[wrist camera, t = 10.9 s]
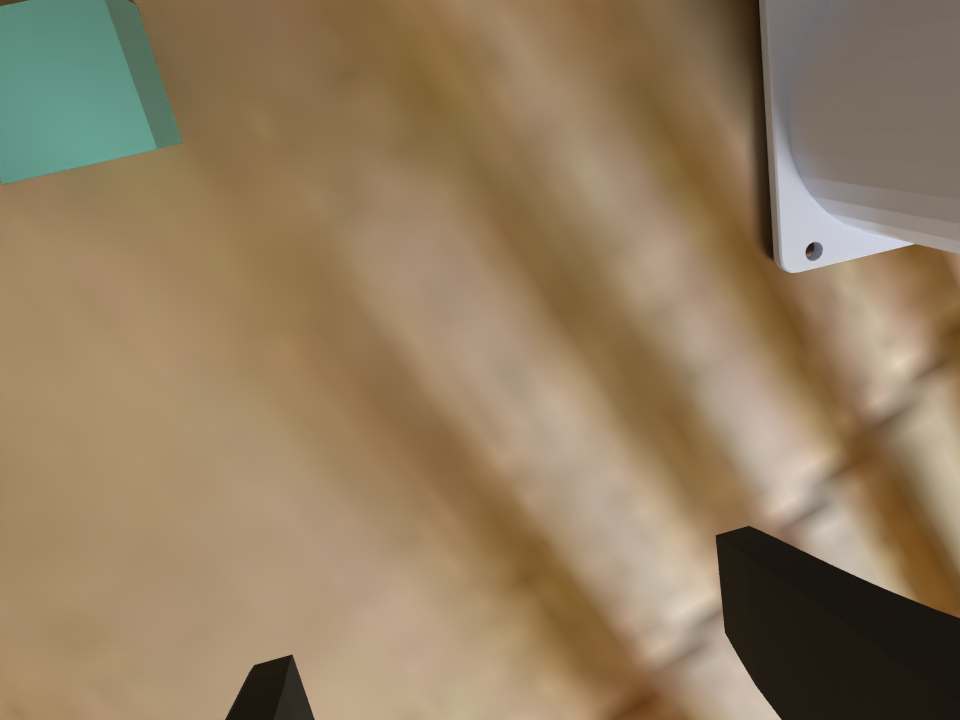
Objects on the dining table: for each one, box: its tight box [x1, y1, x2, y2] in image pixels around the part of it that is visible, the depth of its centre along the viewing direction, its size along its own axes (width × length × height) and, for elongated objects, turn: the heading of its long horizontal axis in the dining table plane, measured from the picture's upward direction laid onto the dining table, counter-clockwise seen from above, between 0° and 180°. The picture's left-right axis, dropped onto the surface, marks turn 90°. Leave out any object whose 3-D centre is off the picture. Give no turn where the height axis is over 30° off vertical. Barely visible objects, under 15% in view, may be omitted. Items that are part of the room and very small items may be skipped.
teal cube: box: [0, 0, 183, 185], centre depth 16 cm, size 3×3×3 cm
